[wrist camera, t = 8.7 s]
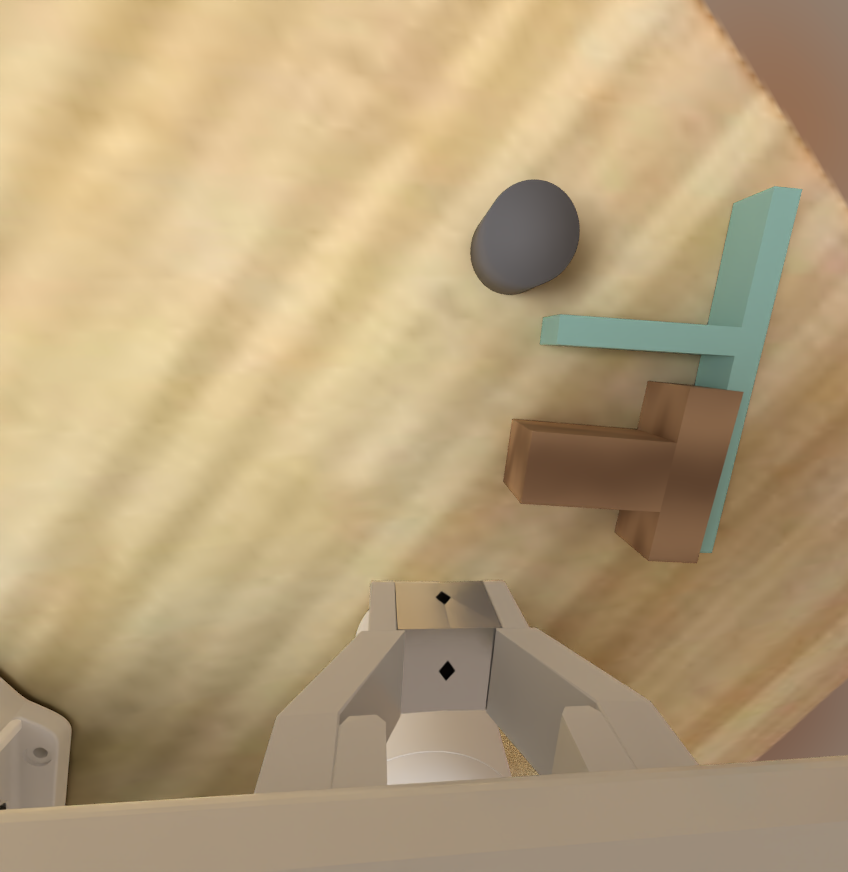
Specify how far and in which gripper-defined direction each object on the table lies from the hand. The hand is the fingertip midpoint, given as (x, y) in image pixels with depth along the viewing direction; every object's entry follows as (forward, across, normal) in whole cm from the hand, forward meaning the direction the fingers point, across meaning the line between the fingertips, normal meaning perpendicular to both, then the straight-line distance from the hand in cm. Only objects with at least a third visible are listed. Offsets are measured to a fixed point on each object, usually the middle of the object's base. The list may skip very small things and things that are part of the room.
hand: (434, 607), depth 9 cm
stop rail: (+15, -13, -5) cm, 20 cm away
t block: (+15, -12, 0) cm, 19 cm away
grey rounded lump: (+15, -5, -11) cm, 19 cm away
